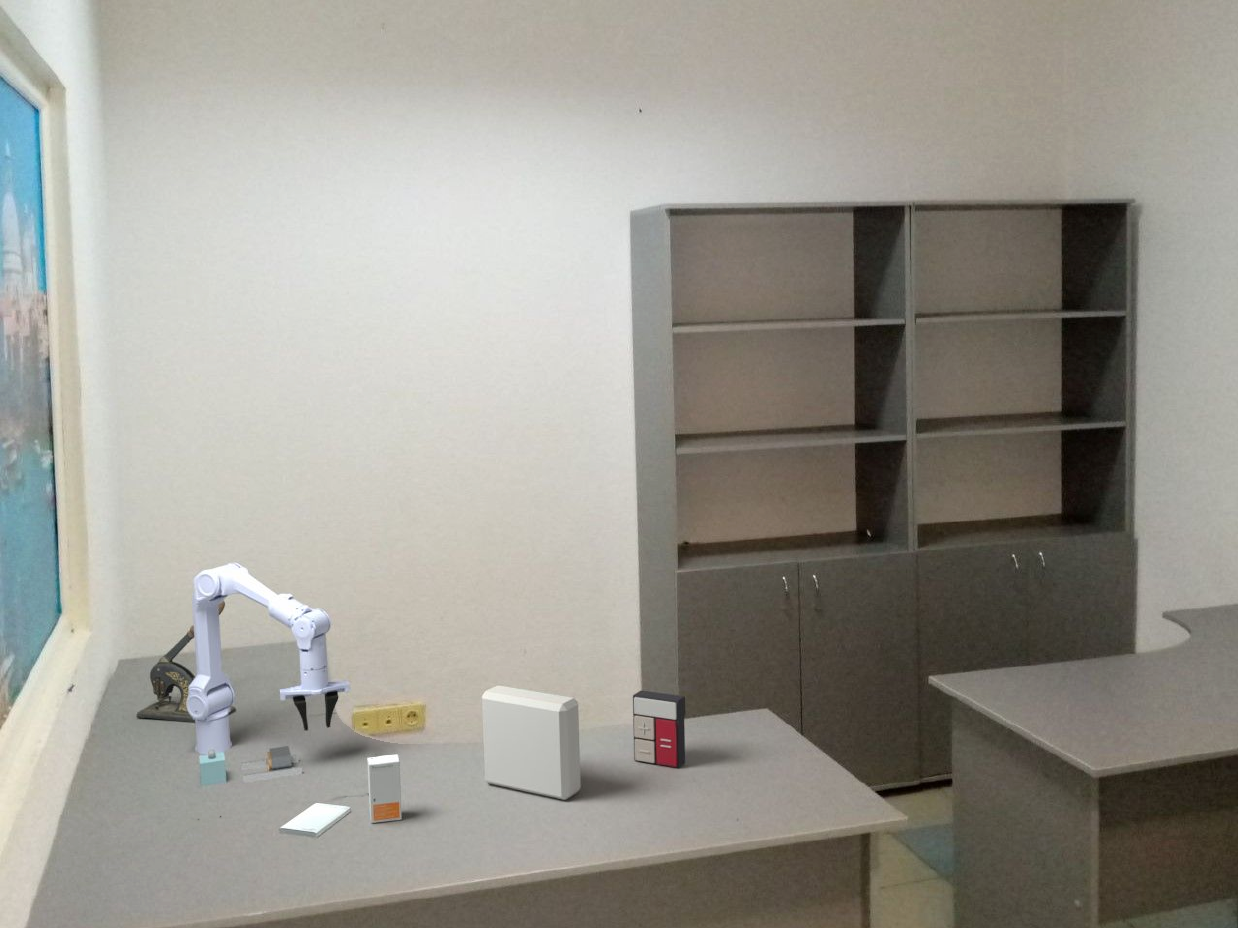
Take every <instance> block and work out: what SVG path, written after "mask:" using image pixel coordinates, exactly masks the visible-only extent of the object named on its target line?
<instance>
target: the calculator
mask: <svg viewBox="0 0 1238 928" xmlns="http://www.w3.org/2000/svg"><path fill="white" fill-rule="evenodd" d="M685 716H686V697H685V696H684V695H679V694H671V693H662V692H655V691H649V690H642V689H641V690H639V691H638V692H636V693H634V694H633V695H632V718H633V720H632V722H633V724H632V725H633V756H634V757H633V759H634V761H635V762H638V763H645V764H650V765H651V764H652V765H657V766H663V767H670V768H674V769H680V768H681V767H682V766H684V765H685V764H686V748H685V747H686V743H685V741H686V739H685V736H686V733H685Z"/></svg>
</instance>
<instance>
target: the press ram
mask: <svg viewBox="0 0 1238 928" xmlns="http://www.w3.org/2000/svg"><path fill="white" fill-rule="evenodd" d="M291 755H292V754H291V751H290V746H288V745H286V746H285V745H284V746H278V747H272V748H271V747H270V748H269V750H268V751H266V759H267V771H271V770H278V769H284V768H291V767H293V766H292V763H291Z"/></svg>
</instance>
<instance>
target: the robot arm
mask: <svg viewBox="0 0 1238 928" xmlns="http://www.w3.org/2000/svg"><path fill="white" fill-rule="evenodd" d="M193 587H194V590H193V593H192V595H191V597H192V598H191V608H192V620H193V623H192V625H194V638H193V639H194V649H195V664H196V676H195V679H194V680H193V681H192V683H191V684H190V686H189V687H188V690H189V694H188V698H187V701H186V707H187V710H188V712H189V714H190V715H191V716H192V717H193V720H195V722H194V723H195V725H194V726H195V736H196V738H195V739H196V745H195V746H194V750H195V751H194V752H197V753H198V754H200V755H208V751H209V750H215V753H222V752H224V753H225V752H226V751H228V750H230V749H231V747H233V742H232V741H231V731H230V717H229V716H230V715H229V714H228V713H229V712H230V707H231V706H233V705H234V704H235V699H236V693H235V690H234V689H233V685H232V680H231V677H230V676H229V675H227V674H226V673H225V672H224V671H223V670H224V669H223V660H222V659H223V658H222V643H221V642H222V640H221V629H220V627H221V625H220V615H219V609H218V605H219V604H220V603H221V602H222V601H225V599H226V598H227V597H228V596H230V595H239V594H240V595H242V596H244V597H246V598H248V599H249V600H251V601H253V602H255V603H258V605H259V604H260V605H261V606H262V607H265V608H267V609H268V614H269V616H270V617H272V618H273V619H275V620H276V621H278V622H279V623H281V624H282V625H284V626H286V627H288V628H289V629H290V630H291V631H292V635H293V636H294V638H295V640H296V646H297V647H298V653H299V656H298V657H299V671H300V672H299V674H300V685H296V686H291V687H288V688H282V689H279V699H280V701H287V700H288V699H289V700H290V699H292V701H293V703H294V706H295V707H296V709H297V711H298V713H299V715H300V717H301V721H302V725H303V730H304V731H309V723H308V716H307V714H308V713H307V701H306V697H314V696H319V695H320V696H321V695H324V705H325V726H326V728H327V729H328V728H331V724H332V723H331V722H332V717H333V712H334V711H335V707H336V705H337V703H338V700H339V694H338V693H343V692H344V693H350V692H351V690H350V689H351V687H350V681H348V680H345V681H329V675H328V674H329V671H328V655H327V653H328V652H327V635H326V634H327V633H329V631H330V629H331V625H332V624H331V623H332V622H331V617H330V616H329V614H328V613H327V612H326V611H324V609H322V608H311V607H310V606H308V605H306V604H303V603H302V602H300V601H299V600H297V599H295V598H294V595H292V594H291V593H280V594H277V593H276V592H274V591H273V590H272V589H270V588H269V587H267V586H266V585H264V583H262V582H260V581H259V580H257V579H256V578H255V577H253V576H252V575H250V573H249V570H248V568H246V567H244V566H242V565H241V564H239V563H238V562H228V563H227V564H225V565H221V566H217V567H214V568H210V569H205V570H202V571H201V572H200V573H198V574H197V575H195V577H194V578H193Z"/></svg>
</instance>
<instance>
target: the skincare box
mask: <svg viewBox="0 0 1238 928" xmlns="http://www.w3.org/2000/svg"><path fill="white" fill-rule="evenodd" d="M366 759H367V784H368V807H369V809H368V810H369V819H370V823H371V824H375V823H383V822H384V823H385V822H391V821H401V820H402V793H401V792H402V790H401V789H402V788H401V786H402V785H401V762H400V757H399V754H388V755H386V754H385V755H378V756H373V757H371V756H370V757H367V758H366Z"/></svg>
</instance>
